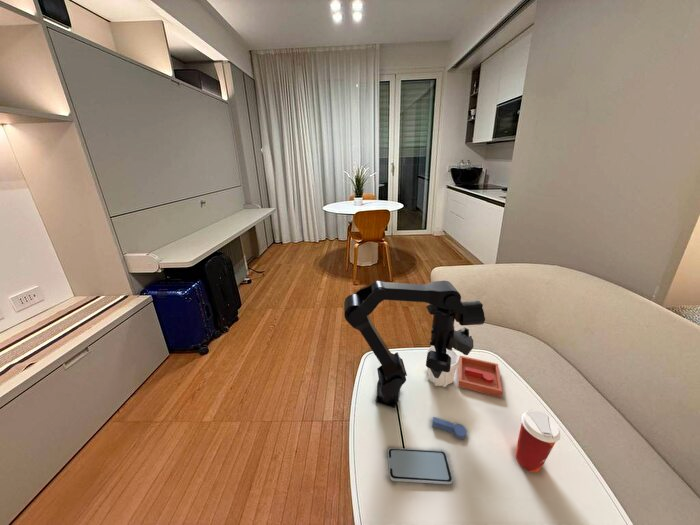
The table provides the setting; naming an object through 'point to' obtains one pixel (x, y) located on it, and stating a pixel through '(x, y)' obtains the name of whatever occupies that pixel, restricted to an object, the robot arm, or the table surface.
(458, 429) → the blue spoon
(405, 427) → the table surface
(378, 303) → the robot arm
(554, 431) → the paper cup
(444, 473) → the smartphone
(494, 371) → the terracotta tray
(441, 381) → the cup
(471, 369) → the red spoon
